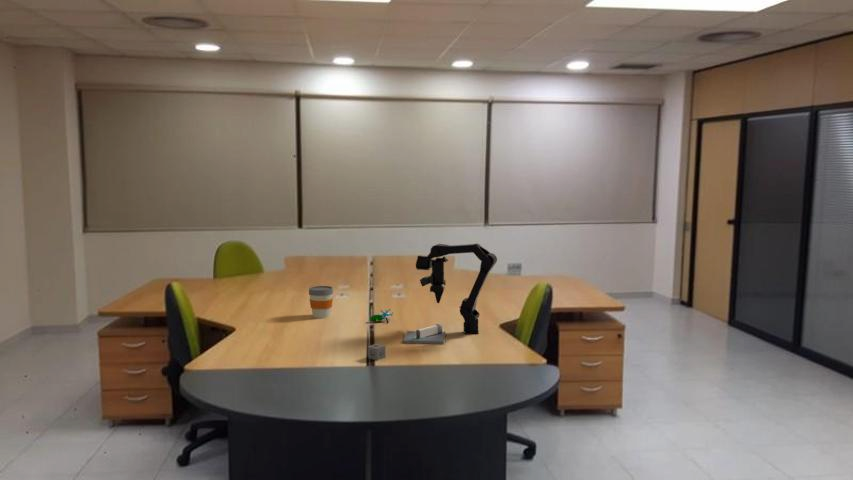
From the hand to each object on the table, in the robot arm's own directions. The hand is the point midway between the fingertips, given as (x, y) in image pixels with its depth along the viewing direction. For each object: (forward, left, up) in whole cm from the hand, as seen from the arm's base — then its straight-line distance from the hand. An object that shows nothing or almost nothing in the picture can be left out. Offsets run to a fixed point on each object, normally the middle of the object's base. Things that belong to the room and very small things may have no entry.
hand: (438, 303), depth 303 cm
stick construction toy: (+29, -13, -13) cm, 34 cm away
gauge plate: (+5, +16, -13) cm, 21 cm away
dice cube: (+22, +46, -13) cm, 53 cm away
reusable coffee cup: (+63, -23, -13) cm, 68 cm away
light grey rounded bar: (+3, +16, -11) cm, 20 cm away
